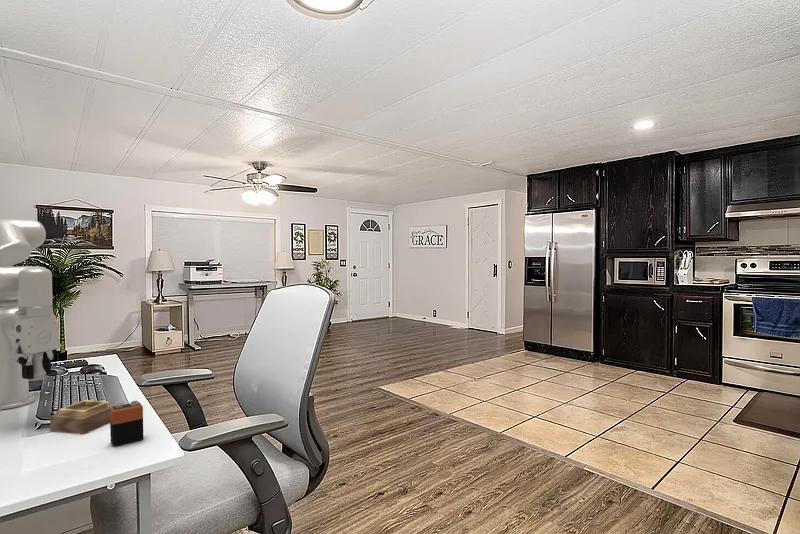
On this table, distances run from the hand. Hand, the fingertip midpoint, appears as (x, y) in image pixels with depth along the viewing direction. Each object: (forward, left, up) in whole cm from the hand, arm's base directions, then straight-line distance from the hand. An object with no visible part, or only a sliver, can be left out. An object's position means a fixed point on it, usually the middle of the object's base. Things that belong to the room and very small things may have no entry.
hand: (36, 375), depth 129 cm
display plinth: (+14, +2, -14) cm, 20 cm away
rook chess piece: (0, 0, -1) cm, 1 cm away
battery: (+35, -5, -14) cm, 38 cm away
